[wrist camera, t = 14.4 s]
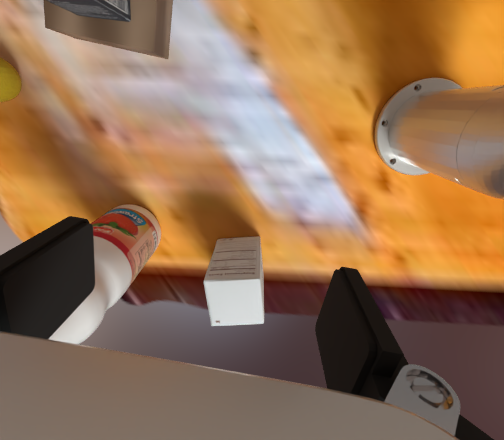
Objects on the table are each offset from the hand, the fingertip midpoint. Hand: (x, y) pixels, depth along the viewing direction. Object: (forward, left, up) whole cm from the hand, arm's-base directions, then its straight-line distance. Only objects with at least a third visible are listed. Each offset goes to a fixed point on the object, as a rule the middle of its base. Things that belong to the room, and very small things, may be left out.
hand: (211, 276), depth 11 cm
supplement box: (-1, +18, -33) cm, 37 cm away
